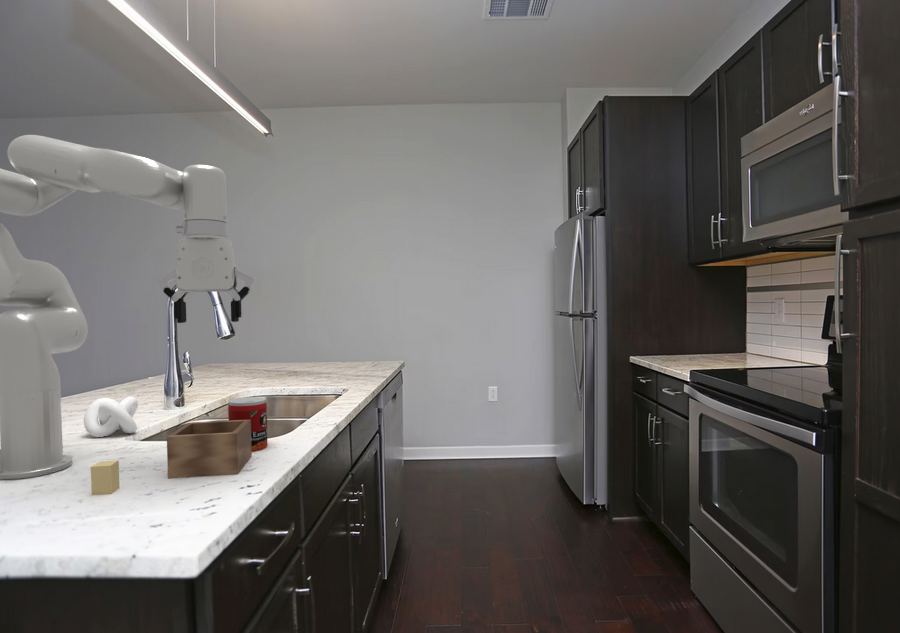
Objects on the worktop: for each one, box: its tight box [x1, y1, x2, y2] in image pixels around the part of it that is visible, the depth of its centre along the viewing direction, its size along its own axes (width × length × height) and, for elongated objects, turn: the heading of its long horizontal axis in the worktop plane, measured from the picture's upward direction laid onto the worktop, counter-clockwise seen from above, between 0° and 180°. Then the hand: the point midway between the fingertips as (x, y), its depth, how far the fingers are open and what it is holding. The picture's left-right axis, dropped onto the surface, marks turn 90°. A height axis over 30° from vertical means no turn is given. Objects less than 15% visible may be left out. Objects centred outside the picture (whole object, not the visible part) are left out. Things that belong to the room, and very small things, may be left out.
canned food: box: [227, 396, 268, 453], centre depth 116 cm, size 8×8×11 cm
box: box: [166, 420, 253, 480], centre depth 103 cm, size 12×12×8 cm
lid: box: [90, 460, 120, 496], centre depth 90 cm, size 12×12×6 cm
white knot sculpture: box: [83, 395, 139, 438], centre depth 135 cm, size 11×12×9 cm
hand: (208, 322), depth 103 cm, fingers open, 9 cm apart
